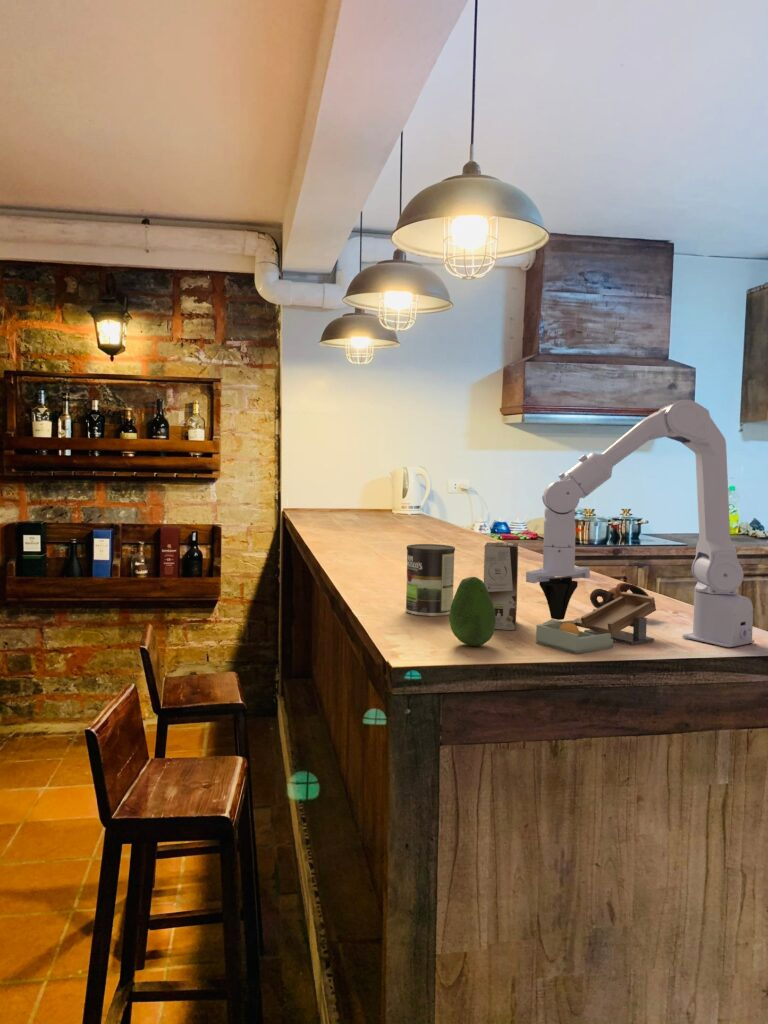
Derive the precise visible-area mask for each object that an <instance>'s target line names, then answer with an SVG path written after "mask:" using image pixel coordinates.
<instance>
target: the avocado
mask: <svg viewBox="0 0 768 1024" xmlns="http://www.w3.org/2000/svg"><path fill="white" fill-rule="evenodd" d="M456 589H457V590H456V591H455V593H454V595H453V602H452V604H451V609H450V615H448V619H449V625H450V630H451V632H452V634H453V635H454V637H455V638H456V639H458V640H459V642H461V643H462V644H464V645H466V646H471V647H479V646H482V645H485V644H486V643H487V642H489V641H490V640H491V638H492V637H493V636H494V632H495V629H494V628H495V624H496V617H495V609H494V606H493V603H492V600H491V597H490V595H489V593H488V590H487V588H486V586H485V584H484V580H481V578H479V577H476V576H468V577H465V578H462V579H461V581H460V583H459V584H458V587H457V588H456Z"/></svg>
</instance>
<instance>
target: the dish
mask: <svg viewBox="0 0 768 1024" xmlns="http://www.w3.org/2000/svg"><path fill="white" fill-rule="evenodd" d="M567 622H570V623H573V624H574V621H573V620H566V621H565V620H563V621H562V622H555V623H548V624H543V623H540V624H536V630H535V631H536V632H535V633H536V636H535V643H536V644H539V645H543V646H546V647H550V648H552V649H553V648H554V649H556V650H559V651H563V652H567V653H570V654H574V655H578V654H582V653H583V654H584V653H589V652H596V651H603V650H607V649H612V648H614V641H613V639H611V634H610V633H606V634H599V635H594V634H590V633H586V632H584V631H581V630H579V636H578V634H574V633H570V632H566V631H562V630H559V628H560V626H561V625H562V624H564V623H567Z"/></svg>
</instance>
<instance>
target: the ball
mask: <svg viewBox="0 0 768 1024" xmlns="http://www.w3.org/2000/svg"><path fill="white" fill-rule="evenodd" d="M559 630H562V631H566V632H570V633H574V634H578V636H579V631H580V630H579V628H578V626H576V625H575V624H573V623H570V622H567V623H564V624H562V625H561V626H560V628H559Z"/></svg>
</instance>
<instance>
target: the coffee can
mask: <svg viewBox="0 0 768 1024" xmlns="http://www.w3.org/2000/svg"><path fill="white" fill-rule="evenodd" d="M455 551H456V547H455V546H453V545H449V544H438V543H437V544H434V543H419V544H418V543H416V544H415V543H414V544H409V545H406V555H407V556H406V593H405V594H406V598H405V612H406V613H407V612H408V613H407V614H410V613H411V614H410V615H413V614H415V616H420V615H422V617H423V616H424V617H443V616H450V609H451V604H452V602H453V599H454V579H455V575H454V573H455Z"/></svg>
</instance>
